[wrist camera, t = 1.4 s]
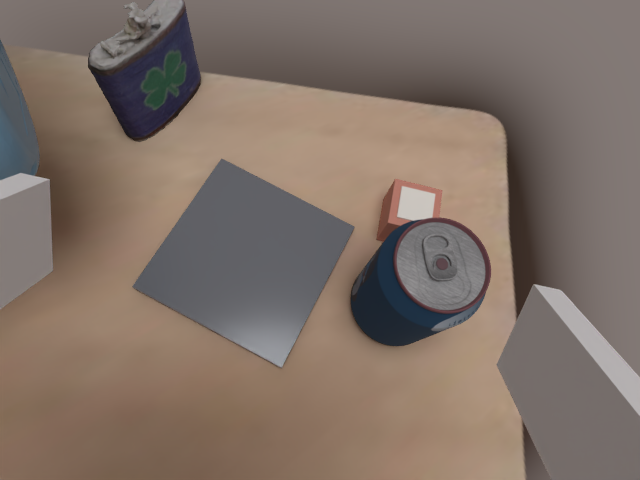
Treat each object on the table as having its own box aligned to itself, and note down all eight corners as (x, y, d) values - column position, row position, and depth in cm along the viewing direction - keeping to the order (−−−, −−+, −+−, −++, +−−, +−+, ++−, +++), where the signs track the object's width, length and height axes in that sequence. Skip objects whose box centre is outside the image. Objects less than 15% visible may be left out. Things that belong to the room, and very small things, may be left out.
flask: (186, 66, 42) (161, -37, 32) (211, 82, 42) (193, -17, 32) (118, 131, 39) (66, 40, 29) (143, 149, 39) (101, 63, 29)
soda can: (437, 343, 36) (514, 317, 25) (354, 352, 35) (395, 329, 24) (421, 261, 38) (485, 204, 27) (342, 268, 37) (375, 211, 26)
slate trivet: (135, 289, 35) (132, 286, 34) (222, 163, 39) (221, 158, 38) (281, 368, 34) (281, 367, 33) (352, 230, 38) (354, 226, 38)
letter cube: (376, 239, 38) (388, 221, 34) (383, 199, 40) (396, 177, 36) (420, 250, 39) (437, 233, 35) (426, 209, 40) (443, 189, 36)
